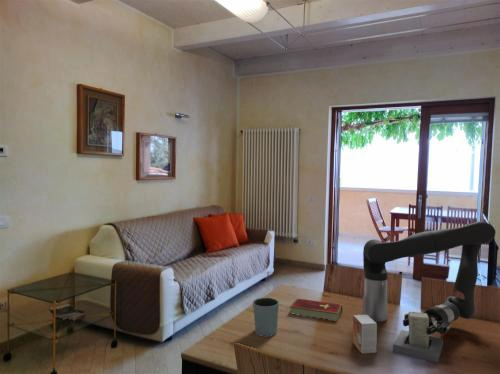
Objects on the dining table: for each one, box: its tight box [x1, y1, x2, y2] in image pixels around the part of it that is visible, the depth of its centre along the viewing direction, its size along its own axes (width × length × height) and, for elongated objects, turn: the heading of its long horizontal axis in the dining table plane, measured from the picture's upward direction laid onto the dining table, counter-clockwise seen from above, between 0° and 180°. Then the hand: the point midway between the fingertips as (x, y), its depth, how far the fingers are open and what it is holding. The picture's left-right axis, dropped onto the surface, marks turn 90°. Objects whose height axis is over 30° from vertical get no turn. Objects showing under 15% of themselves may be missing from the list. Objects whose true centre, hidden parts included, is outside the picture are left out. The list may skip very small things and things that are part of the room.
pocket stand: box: [392, 329, 444, 363], centre depth 128 cm, size 14×14×2 cm
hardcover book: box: [289, 298, 343, 322], centre depth 161 cm, size 12×21×4 cm, turn 67°
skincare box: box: [408, 311, 430, 349], centre depth 128 cm, size 6×4×12 cm
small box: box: [352, 314, 378, 354], centre depth 128 cm, size 8×6×10 cm
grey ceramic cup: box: [252, 297, 280, 337], centre depth 142 cm, size 10×10×12 cm
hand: (415, 327), depth 127 cm, fingers open, 8 cm apart
